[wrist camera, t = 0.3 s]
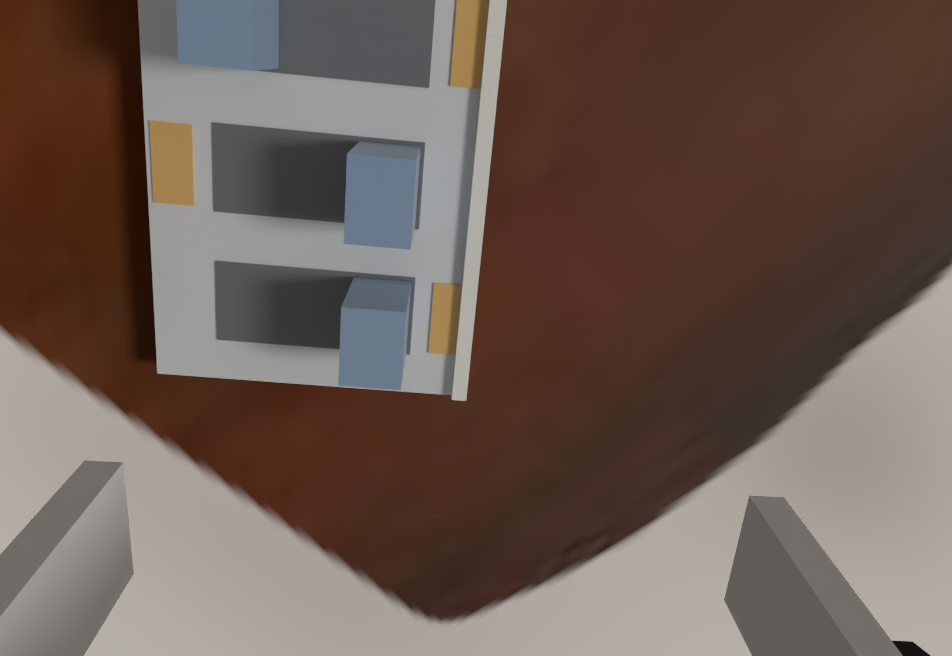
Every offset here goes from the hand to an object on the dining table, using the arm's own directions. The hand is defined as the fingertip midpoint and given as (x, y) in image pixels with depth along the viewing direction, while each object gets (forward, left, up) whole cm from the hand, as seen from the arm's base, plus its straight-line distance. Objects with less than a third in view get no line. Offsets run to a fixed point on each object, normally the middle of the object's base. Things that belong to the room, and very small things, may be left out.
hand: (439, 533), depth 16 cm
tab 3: (+4, -3, -24) cm, 25 cm away
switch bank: (-3, -7, -27) cm, 28 cm away
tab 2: (-3, -3, -24) cm, 25 cm away
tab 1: (-10, -10, -24) cm, 28 cm away
